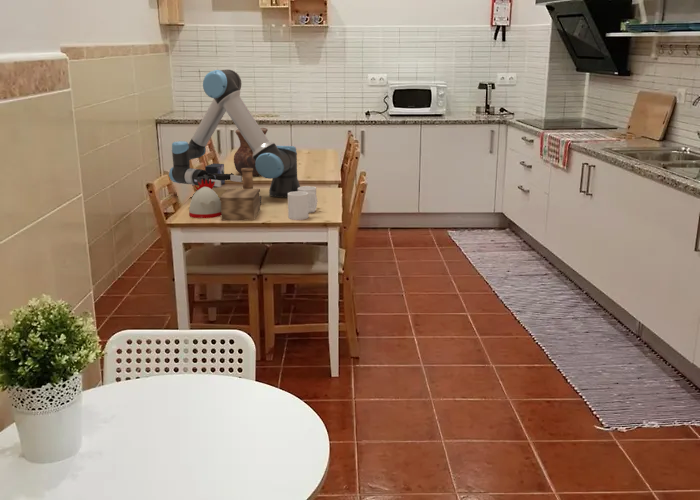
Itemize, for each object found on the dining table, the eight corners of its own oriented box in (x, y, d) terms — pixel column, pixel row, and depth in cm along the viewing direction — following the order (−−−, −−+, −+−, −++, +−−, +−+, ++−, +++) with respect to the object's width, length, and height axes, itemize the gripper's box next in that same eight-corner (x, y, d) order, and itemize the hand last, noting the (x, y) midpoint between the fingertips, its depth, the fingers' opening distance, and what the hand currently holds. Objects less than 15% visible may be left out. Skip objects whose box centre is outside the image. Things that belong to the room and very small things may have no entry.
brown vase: (226, 174, 384) (224, 128, 377) (258, 170, 397) (255, 125, 390) (250, 179, 368) (247, 132, 361) (281, 174, 382) (279, 128, 375)
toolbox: (265, 202, 311) (264, 182, 309) (254, 219, 279) (253, 197, 277) (235, 202, 311) (234, 182, 309) (220, 220, 279) (219, 197, 277)
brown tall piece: (255, 203, 310) (253, 167, 306) (253, 205, 305) (252, 169, 301) (243, 203, 310) (242, 167, 306) (242, 205, 305) (240, 169, 301)
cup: (319, 218, 280) (318, 194, 278) (289, 220, 278) (288, 195, 275) (316, 214, 288) (315, 190, 285) (287, 215, 286) (286, 191, 283)
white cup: (301, 214, 289) (301, 190, 286) (295, 210, 296) (294, 187, 293) (319, 212, 292) (319, 188, 289) (312, 208, 299) (312, 185, 296)
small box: (218, 187, 347) (216, 166, 345) (205, 187, 349) (204, 166, 346) (225, 183, 357) (224, 163, 354) (213, 183, 359) (212, 163, 356)
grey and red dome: (225, 216, 286) (223, 180, 282) (191, 219, 281) (189, 183, 277) (220, 209, 298) (218, 175, 294) (187, 212, 294) (185, 177, 290)
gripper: (216, 181, 332) (250, 185, 321) (177, 189, 312) (212, 194, 301) (215, 165, 330) (249, 169, 319) (176, 173, 310) (210, 177, 299)
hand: (231, 181), depth 310 cm, fingers open, 13 cm apart
